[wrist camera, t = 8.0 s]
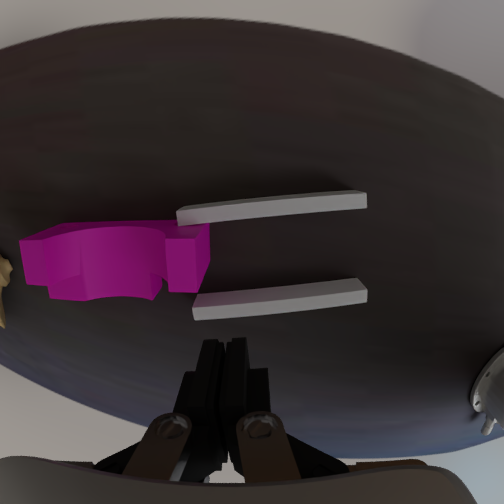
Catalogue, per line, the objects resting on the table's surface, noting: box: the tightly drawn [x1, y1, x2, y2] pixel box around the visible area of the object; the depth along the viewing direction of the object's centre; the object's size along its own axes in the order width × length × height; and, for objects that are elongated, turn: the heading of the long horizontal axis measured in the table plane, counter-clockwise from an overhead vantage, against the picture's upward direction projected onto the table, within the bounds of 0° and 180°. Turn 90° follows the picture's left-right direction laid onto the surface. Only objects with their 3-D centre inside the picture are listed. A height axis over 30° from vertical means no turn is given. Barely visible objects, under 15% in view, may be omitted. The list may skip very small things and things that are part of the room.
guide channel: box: [176, 190, 367, 320], centre depth 27 cm, size 9×15×3 cm, turn 96°
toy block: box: [19, 220, 210, 301], centre depth 25 cm, size 15×6×8 cm, turn 90°
